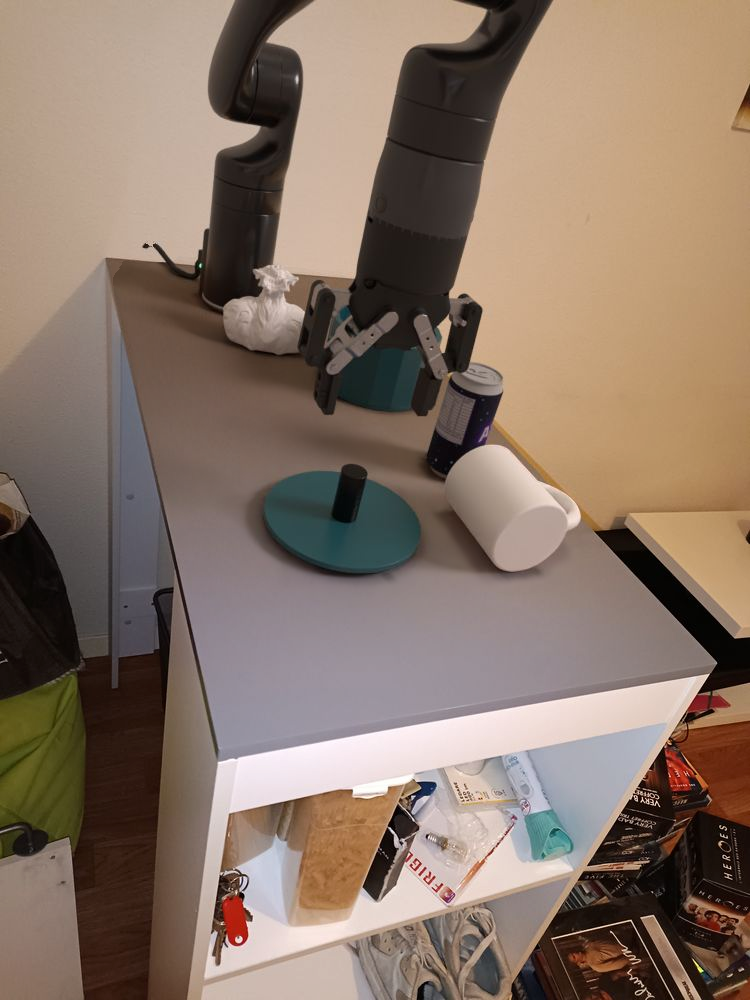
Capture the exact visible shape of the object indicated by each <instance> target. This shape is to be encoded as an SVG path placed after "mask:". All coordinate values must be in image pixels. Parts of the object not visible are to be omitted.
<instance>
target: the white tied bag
mask: <svg viewBox="0 0 750 1000" xmlns="http://www.w3.org/2000/svg"><path fill="white" fill-rule="evenodd" d="M253 273H254V274H255V276H256V277H255V278H256V279H259V278H260V282H259V284H258V286H262V287H263V290H262V293H261V294H260V295H259V297H252V296H246V297H242V298H240V299H232V300H231V301H229V302H228V303H227V304H226V305H225V306H224V307H223V311H224V313H222V314H223V315H222V321H223V327H224V332H225V335H226V337H227V339H228V340H230V341H231V342H233V343H235V344H238V345H241V346H243V347H244V348H246V349H248V350H249V351H259V352H266V353H271V354H275V356H282V355H285V354H299V353H300V352H299V350H298V348H297V345H298V341H299V336H300V332H301V328H302V323H303V319H304V315H305V310H303V309H302V307H300V306H298V305H297V304H294V303H289V302H287V300H286V297H285V292H288V293H290V292H291V290H290V286H292V287H294V286H295V284H296V283H297V282H298V281H299V280H300V279H299V277H298V276H294V274H292V273H291V272H290V271H288V269H287V268H286V267H283V265H279V263H276V264H274V263H273V265H267V266H266V267H264V268H260V269H258V270H257V269H253ZM300 354H301V353H300Z"/></svg>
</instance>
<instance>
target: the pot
mask: <svg viewBox="0 0 750 1000" xmlns="http://www.w3.org/2000/svg"><path fill="white" fill-rule="evenodd" d="M350 315H351V313H350V311H349V309H348V307H347V305H345V306H343V307H342V308H341V309H340V311H339V313H338V315H337V316H336V317H332V318H331V321H330V325H329V329H328V333H327V339H326V343H327V342H328V341H329V340H330V339H331V338H332V337H333V336H334V335H335V332H336V329H337V328H338V327H339V326H340V325H341V324H342V323H343V322H344V321H345V320H346V319H347V318H348V317H349V316H350ZM359 333H360V332H359V330H358V331H357V332H356V334H355V335H354V338H355V337H356V336H357V335H358V334H359ZM433 333H434V335H435V337H436V340H437V342H438V345H439V347H440V348H441V344H442V341H443V335H442V333H441V331H440V328H438V326H437V327H436V328H435V329H434V330H433ZM420 367H421V368H425V364H424V363H423V360H422V358H421V356H420V354H419V352H418V349H417V348H416V347H413V348H411V351H404V350H400V349H397V348H388V349H375V348H374V347H373V346H372V345H371V346H370V347H369V348H368V349H367V350H366V351H365V352H364V353H363V354H362V355H361V356H360V357H357V358H353V359H352V360H351V361H350V362H349V363H348V364H347V365H346V366H345V367H344V368H343V369H342V370H341V371H340V372H339V373H340V375H341V376H342V377H341V382H340V387H339V391H338V396H337V397H338V398H340V399H342V400H345V401H346V402H348V403H351V404H354V405H356V406H359V407H362V408H365V409H371V410H375V411H383V412H405V411H410V410H413V409H412V408H411V400H412V396H413V392H414V389H415V385H416V381H417V378H418V374H419V370H420Z"/></svg>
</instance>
